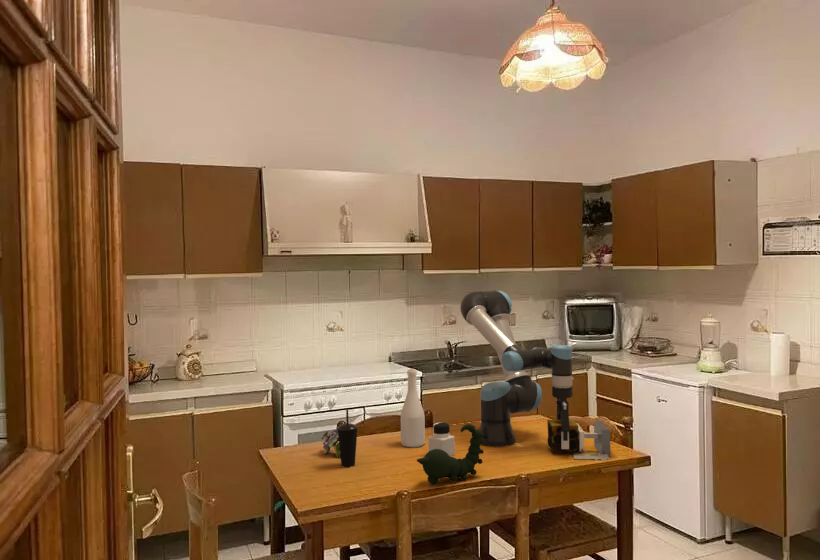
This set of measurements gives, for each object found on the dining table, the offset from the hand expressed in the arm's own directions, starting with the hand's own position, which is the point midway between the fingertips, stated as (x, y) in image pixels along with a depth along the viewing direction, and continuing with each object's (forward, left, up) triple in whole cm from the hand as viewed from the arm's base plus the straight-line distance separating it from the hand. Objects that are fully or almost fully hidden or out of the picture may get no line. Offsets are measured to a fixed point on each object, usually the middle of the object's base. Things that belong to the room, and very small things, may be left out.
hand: (563, 444), depth 239 cm
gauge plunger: (+11, -1, 0) cm, 11 cm away
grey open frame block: (+9, -1, -2) cm, 10 cm away
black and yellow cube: (0, 0, -2) cm, 2 cm away
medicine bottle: (-46, -7, -3) cm, 46 cm away
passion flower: (-86, -6, -3) cm, 86 cm away
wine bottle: (-58, +7, -3) cm, 58 cm away
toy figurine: (-42, -35, -3) cm, 54 cm away
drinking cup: (-79, -20, -3) cm, 81 cm away
